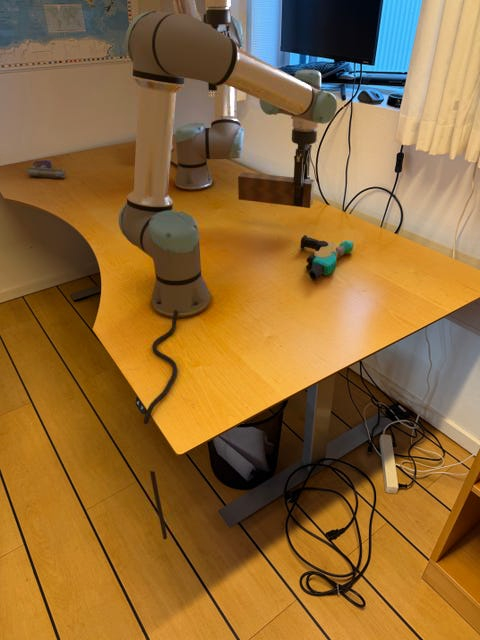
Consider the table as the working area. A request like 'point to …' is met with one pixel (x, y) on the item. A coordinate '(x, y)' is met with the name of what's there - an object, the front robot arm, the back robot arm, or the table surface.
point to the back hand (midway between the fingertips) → (220, 86)
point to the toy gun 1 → (45, 170)
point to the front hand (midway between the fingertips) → (299, 202)
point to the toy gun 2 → (323, 255)
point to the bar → (273, 189)
